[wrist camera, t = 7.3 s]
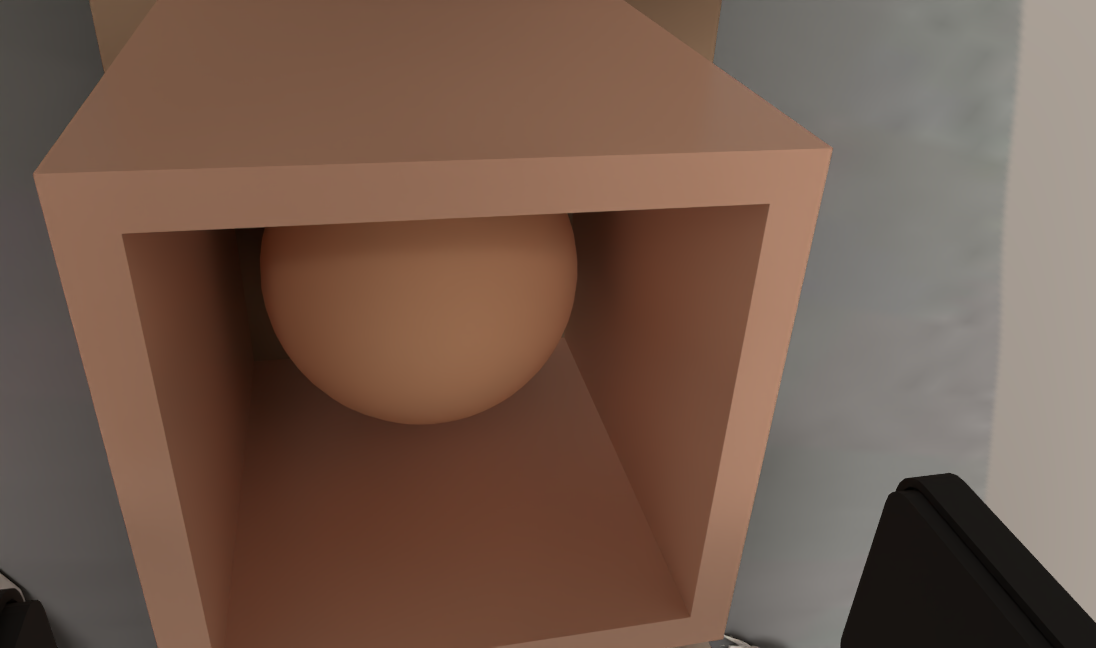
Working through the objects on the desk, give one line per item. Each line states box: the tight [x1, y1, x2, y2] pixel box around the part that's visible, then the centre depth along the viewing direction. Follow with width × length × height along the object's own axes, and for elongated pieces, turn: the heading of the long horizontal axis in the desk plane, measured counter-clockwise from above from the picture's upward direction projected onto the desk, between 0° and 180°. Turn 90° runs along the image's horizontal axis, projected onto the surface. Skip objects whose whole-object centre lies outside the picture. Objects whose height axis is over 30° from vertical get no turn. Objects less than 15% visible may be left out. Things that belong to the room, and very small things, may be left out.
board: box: [89, 0, 722, 361], centre depth 20 cm, size 29×12×2 cm, turn 177°
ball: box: [260, 213, 577, 425], centre depth 17 cm, size 6×6×6 cm
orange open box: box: [33, 0, 833, 648], centre depth 16 cm, size 9×9×9 cm
